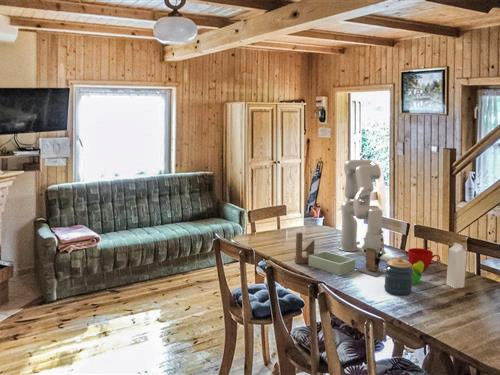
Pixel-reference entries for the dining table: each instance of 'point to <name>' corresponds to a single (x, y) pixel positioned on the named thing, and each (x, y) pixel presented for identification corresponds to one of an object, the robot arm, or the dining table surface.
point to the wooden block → (303, 249)
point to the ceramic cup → (421, 256)
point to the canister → (398, 277)
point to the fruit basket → (417, 272)
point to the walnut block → (371, 260)
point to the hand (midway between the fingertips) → (372, 262)
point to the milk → (456, 266)
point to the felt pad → (372, 273)
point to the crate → (331, 262)
